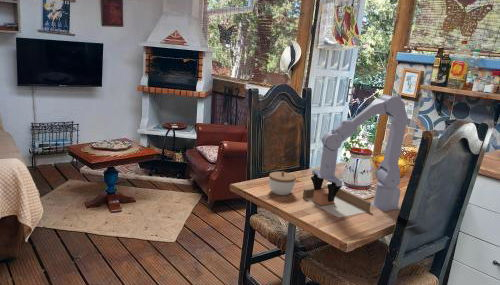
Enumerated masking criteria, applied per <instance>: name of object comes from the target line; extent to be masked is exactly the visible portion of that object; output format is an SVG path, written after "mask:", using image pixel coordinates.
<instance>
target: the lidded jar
mask: <svg viewBox="0 0 500 285" xmlns="http://www.w3.org/2000/svg"><path fill="white" fill-rule="evenodd" d="M268 176H269V177H268V183H269V184H268V185H269V189H270V190H271V192H272V193H273V194H275V195H278V196H288V195H289V194H291V193H292V192H293V190H294V187H295V185H296V178H297V177H296V176H295V175H294V174H293V173H290V172H285V171H273V172H270V173H269V175H268Z"/></svg>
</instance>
